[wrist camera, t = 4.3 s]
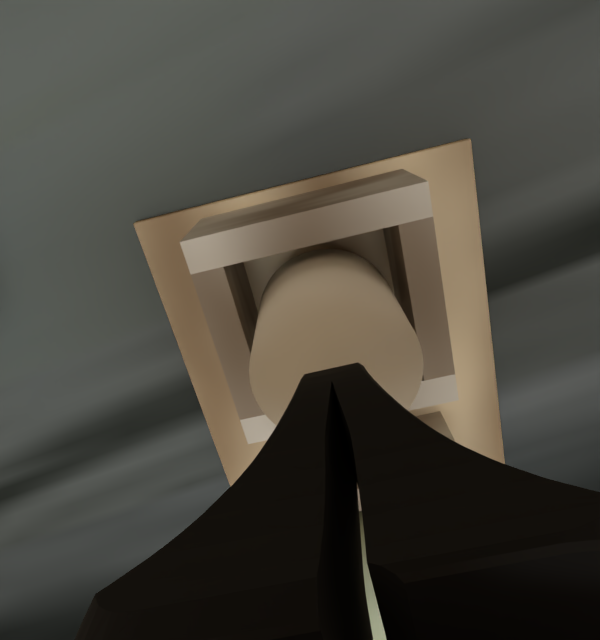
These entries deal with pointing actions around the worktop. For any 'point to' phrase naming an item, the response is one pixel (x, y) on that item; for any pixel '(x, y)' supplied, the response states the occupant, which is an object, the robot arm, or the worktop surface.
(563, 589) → the robot arm
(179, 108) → the worktop surface
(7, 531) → the worktop surface
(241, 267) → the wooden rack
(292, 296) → the ivory key
